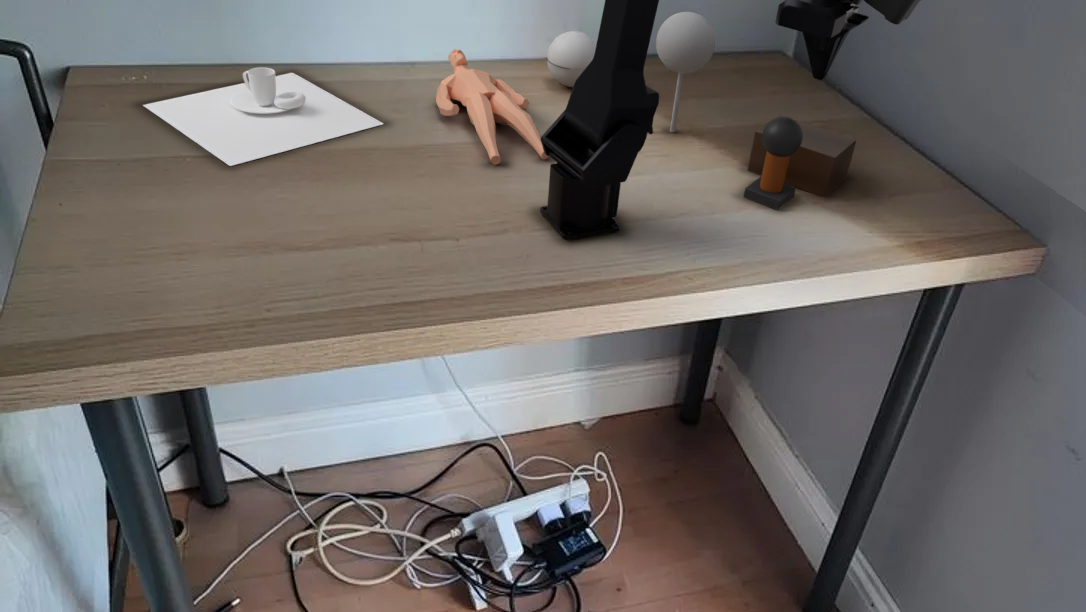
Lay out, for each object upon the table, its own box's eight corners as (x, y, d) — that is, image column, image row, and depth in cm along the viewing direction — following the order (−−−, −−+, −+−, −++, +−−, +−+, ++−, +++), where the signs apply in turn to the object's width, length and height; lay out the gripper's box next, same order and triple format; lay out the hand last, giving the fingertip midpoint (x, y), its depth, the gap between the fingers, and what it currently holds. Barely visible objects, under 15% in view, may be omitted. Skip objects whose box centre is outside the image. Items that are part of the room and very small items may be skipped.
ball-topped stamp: (779, 221, 108) (773, 174, 100) (745, 208, 110) (736, 161, 101) (812, 165, 110) (808, 115, 102) (778, 153, 112) (771, 103, 103)
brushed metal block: (824, 197, 110) (835, 157, 107) (747, 170, 114) (755, 131, 111) (846, 177, 115) (856, 139, 112) (771, 152, 118) (779, 114, 116)
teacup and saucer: (316, 110, 116) (313, 77, 113) (257, 124, 111) (253, 91, 108) (277, 87, 120) (274, 55, 118) (218, 100, 115) (213, 67, 113)
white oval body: (535, 78, 131) (538, 25, 127) (581, 73, 135) (586, 21, 130) (569, 105, 125) (574, 50, 120) (617, 99, 128) (623, 46, 124)
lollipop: (700, 124, 124) (719, 8, 115) (699, 146, 118) (720, 25, 109) (646, 117, 124) (661, 0, 115) (643, 139, 118) (658, 18, 109)
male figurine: (477, 140, 105) (414, 45, 121) (475, 179, 108) (414, 81, 125) (566, 132, 109) (493, 41, 126) (562, 169, 112) (491, 76, 129)
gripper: (899, -35, 88) (857, 123, 97) (955, -64, 101) (913, 77, 110) (790, -61, 92) (759, 92, 101) (856, -86, 106) (824, 52, 115)
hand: (818, 78), depth 107 cm, fingers closed
